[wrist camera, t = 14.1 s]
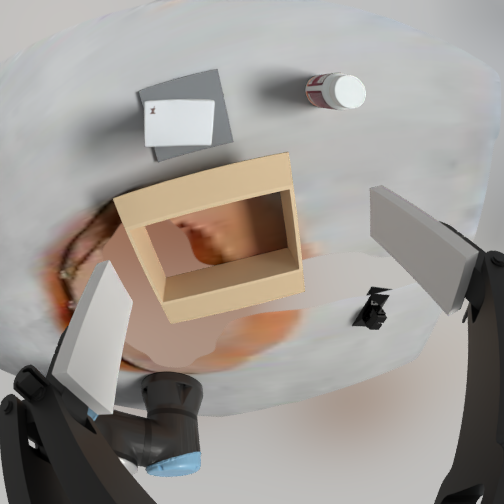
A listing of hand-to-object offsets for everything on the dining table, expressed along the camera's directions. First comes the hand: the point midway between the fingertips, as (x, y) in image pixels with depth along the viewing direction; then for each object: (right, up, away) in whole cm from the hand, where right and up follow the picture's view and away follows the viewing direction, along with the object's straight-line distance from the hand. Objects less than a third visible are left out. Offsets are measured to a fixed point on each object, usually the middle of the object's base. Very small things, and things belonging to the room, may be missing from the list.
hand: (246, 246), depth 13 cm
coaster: (-8, +17, +18) cm, 26 cm away
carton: (-5, +3, +27) cm, 28 cm away
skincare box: (-8, +17, +18) cm, 26 cm away
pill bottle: (+9, +21, +19) cm, 30 cm away
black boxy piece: (+26, -13, +44) cm, 53 cm away
